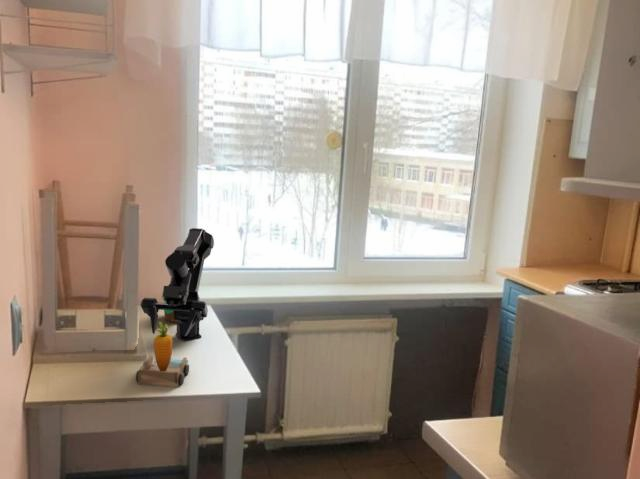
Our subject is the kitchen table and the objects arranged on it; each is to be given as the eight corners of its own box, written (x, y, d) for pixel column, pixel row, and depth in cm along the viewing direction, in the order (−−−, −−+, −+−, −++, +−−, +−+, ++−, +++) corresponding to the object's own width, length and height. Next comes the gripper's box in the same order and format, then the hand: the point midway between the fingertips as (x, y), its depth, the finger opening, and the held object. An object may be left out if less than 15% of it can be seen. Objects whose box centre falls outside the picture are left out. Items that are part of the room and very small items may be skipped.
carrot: (173, 376, 166) (173, 325, 162) (154, 378, 164) (154, 327, 161) (171, 368, 170) (171, 319, 167) (153, 370, 168) (153, 320, 165)
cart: (152, 359, 178) (152, 346, 177) (194, 362, 178) (194, 349, 177) (134, 384, 162) (134, 370, 161) (180, 387, 162) (181, 373, 161)
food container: (159, 313, 217) (159, 287, 215) (176, 313, 219) (177, 286, 217) (162, 325, 206) (163, 298, 203) (181, 324, 208) (181, 297, 206)
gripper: (142, 271, 172) (130, 320, 164) (206, 275, 172) (197, 324, 164) (150, 289, 182) (139, 336, 173) (211, 293, 182) (203, 340, 173)
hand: (169, 334), depth 171 cm, fingers open, 9 cm apart
